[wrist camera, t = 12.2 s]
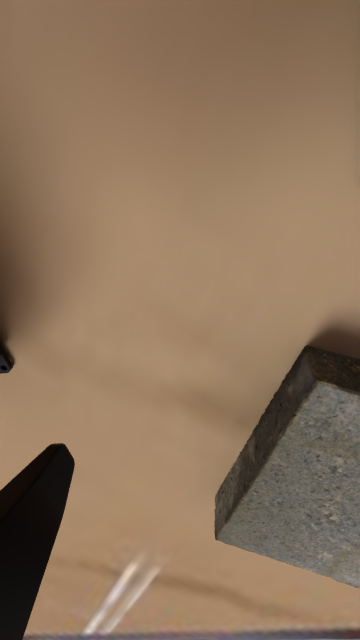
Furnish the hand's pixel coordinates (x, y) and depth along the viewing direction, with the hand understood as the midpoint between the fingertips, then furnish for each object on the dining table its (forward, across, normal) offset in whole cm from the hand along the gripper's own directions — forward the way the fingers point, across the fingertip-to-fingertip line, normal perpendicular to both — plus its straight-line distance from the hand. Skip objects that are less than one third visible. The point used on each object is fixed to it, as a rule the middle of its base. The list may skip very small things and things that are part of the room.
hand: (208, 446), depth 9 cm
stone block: (+13, -6, +17) cm, 22 cm away
